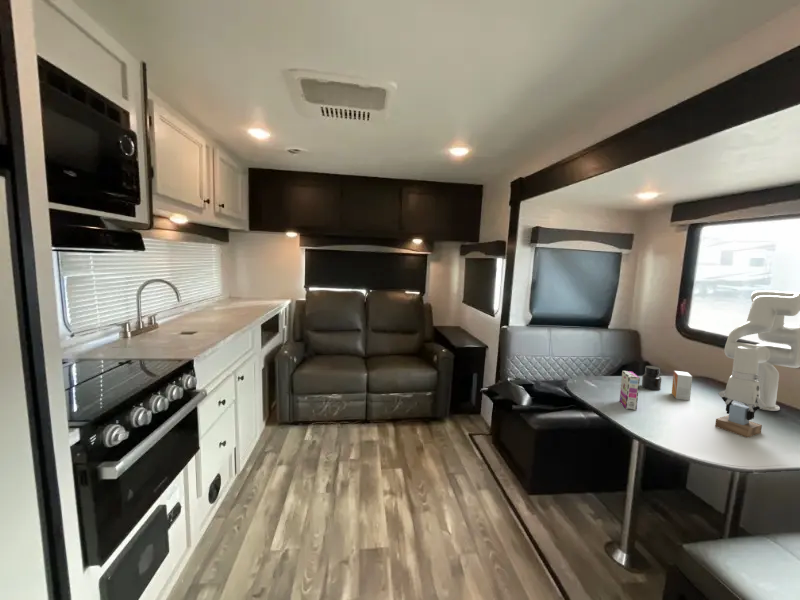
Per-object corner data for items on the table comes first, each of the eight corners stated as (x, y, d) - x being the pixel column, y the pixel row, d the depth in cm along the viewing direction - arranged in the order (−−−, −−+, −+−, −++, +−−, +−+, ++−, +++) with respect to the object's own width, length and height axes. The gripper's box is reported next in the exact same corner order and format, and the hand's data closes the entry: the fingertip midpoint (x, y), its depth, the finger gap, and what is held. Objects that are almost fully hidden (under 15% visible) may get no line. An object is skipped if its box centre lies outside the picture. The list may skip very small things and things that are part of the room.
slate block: (734, 418, 159) (735, 402, 158) (748, 422, 154) (750, 407, 153) (728, 420, 156) (729, 404, 156) (743, 425, 152) (744, 409, 151)
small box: (671, 393, 198) (673, 370, 196) (685, 395, 195) (687, 372, 194) (675, 398, 191) (677, 374, 189) (690, 400, 188) (692, 376, 187)
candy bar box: (637, 410, 174) (640, 377, 172) (625, 409, 176) (628, 376, 174) (630, 402, 185) (632, 371, 183) (619, 401, 186) (621, 370, 185)
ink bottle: (665, 390, 203) (667, 369, 201) (652, 391, 201) (654, 370, 199) (649, 384, 212) (651, 364, 211) (637, 385, 210) (638, 365, 209)
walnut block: (728, 423, 163) (729, 414, 162) (760, 434, 153) (762, 425, 152) (715, 427, 159) (716, 418, 158) (746, 438, 149) (748, 429, 148)
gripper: (775, 380, 147) (770, 423, 149) (723, 369, 162) (719, 407, 164) (767, 383, 144) (761, 426, 146) (714, 371, 159) (710, 410, 161)
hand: (739, 416), depth 155 cm, fingers open, 6 cm apart
